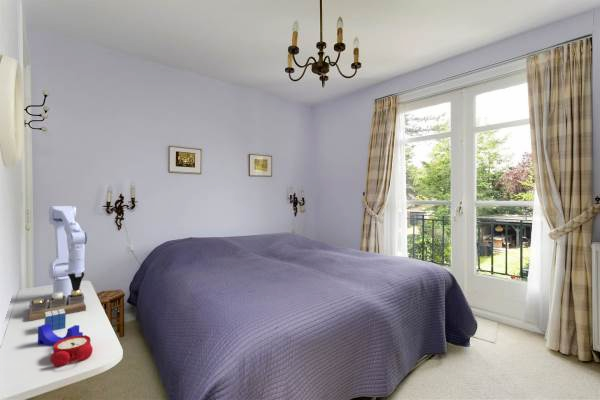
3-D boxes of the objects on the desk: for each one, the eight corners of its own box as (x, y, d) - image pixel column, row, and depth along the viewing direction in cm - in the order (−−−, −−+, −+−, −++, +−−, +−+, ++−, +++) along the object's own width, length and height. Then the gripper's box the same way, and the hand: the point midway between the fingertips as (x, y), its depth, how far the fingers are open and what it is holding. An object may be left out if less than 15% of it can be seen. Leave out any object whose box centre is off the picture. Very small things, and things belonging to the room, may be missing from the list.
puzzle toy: (63, 323, 116) (64, 308, 116) (65, 328, 112) (65, 312, 112) (44, 327, 112) (44, 312, 112) (45, 332, 108) (45, 316, 108)
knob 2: (70, 296, 134) (70, 289, 133) (79, 295, 136) (80, 288, 136) (71, 298, 131) (71, 291, 131) (80, 297, 133) (81, 290, 133)
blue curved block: (82, 341, 103) (82, 323, 103) (71, 347, 98) (71, 329, 98) (50, 338, 104) (50, 321, 104) (37, 345, 100) (38, 326, 100)
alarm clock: (91, 331, 102) (95, 337, 91) (90, 351, 101) (95, 360, 90) (51, 340, 96) (50, 347, 84) (50, 361, 94) (50, 372, 83)
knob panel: (29, 309, 129) (29, 297, 129) (80, 300, 141) (81, 289, 141) (29, 321, 117) (29, 308, 117) (85, 310, 129) (86, 298, 129)
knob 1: (33, 307, 125) (33, 299, 125) (43, 305, 127) (43, 298, 127) (33, 309, 123) (33, 302, 123) (44, 307, 125) (44, 300, 125)
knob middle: (52, 299, 129) (52, 292, 129) (62, 297, 132) (62, 291, 132) (52, 301, 127) (53, 294, 127) (63, 299, 129) (63, 292, 129)
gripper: (63, 257, 136) (63, 287, 136) (66, 263, 125) (66, 295, 125) (82, 255, 141) (82, 284, 141) (87, 261, 130) (86, 292, 130)
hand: (75, 289), depth 133 cm, fingers closed
